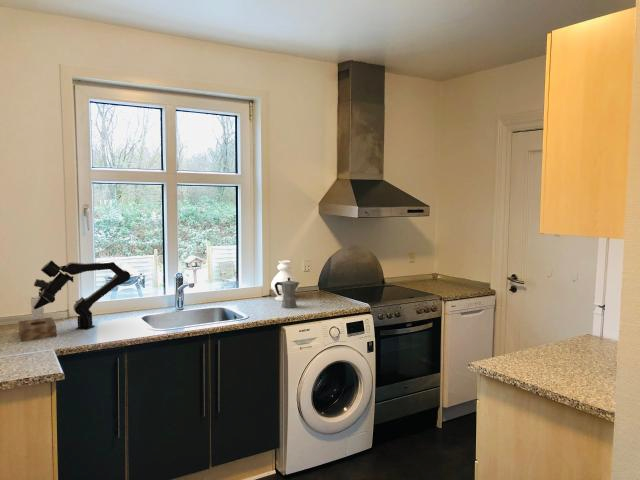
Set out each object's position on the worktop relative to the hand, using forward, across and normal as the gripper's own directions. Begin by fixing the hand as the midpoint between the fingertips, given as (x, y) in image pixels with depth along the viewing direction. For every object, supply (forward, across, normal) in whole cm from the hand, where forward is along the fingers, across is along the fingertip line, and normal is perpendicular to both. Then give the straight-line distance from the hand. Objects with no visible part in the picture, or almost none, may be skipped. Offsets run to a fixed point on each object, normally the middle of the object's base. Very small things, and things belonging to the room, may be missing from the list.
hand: (34, 307), depth 246 cm
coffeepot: (-84, +16, +104) cm, 135 cm away
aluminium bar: (+3, 0, +5) cm, 5 cm away
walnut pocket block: (+9, 0, +10) cm, 13 cm away
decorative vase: (-92, -6, +112) cm, 145 cm away
